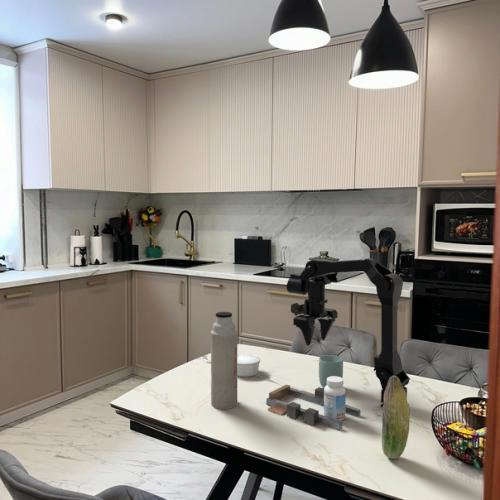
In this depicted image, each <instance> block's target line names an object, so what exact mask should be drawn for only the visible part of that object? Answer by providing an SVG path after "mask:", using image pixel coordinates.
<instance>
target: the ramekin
mask: <svg viewBox="0 0 500 500" xmlns="http://www.w3.org/2000/svg"><path fill="white" fill-rule="evenodd" d="M260 363H261V357H260V356H257V355H254V354H250V353H249V354H248V353H246V354H245V353H244V354H243V353H241V354H237V377H242V378H249V377H253V376H255V375H257V373H258V371H259V368H260Z"/></svg>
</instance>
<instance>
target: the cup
mask: <svg viewBox="0 0 500 500" xmlns="http://www.w3.org/2000/svg"><path fill="white" fill-rule="evenodd" d="M331 376H337V377H341V378H343V377H344V358H343V357H342V356H338V355H334V354H326V355H325V354H324V355H321V356H320V357H318V380H319V384H320V386H321V388H323V389H324V388H325V386H327V378H328V377H331ZM343 379H344V378H343Z"/></svg>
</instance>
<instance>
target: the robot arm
mask: <svg viewBox="0 0 500 500" xmlns="http://www.w3.org/2000/svg"><path fill="white" fill-rule="evenodd" d="M353 272H354V273H355V272H356V273H357V272H363V273H365V274H366V276H367V278H368V280H369V281H370V282H371V283H372V284H373V285H374V286H375V288H376V289H375V290H376V296H377V298H378V300H379V303H380V306H381V307H380V310H381V314H380V320H381V321H380V323H381V324H380V325H381V326H380V328H381V329H380V330H381V331H380V338H381V340H380V341H381V342H380V343H381V344H380V347H381V348H380V353H379V354H378V355H376V356H374V358H373V363H374V368H373V371H374V372H375V376H376V378H377V379H378V380H379V384H380V386H381V390H380V391H381V392H380V393H381V395H380V403H381V404H380V405H379V407H380V408H383V404H384V392H385V389H386V387H387V384H388V381H389V378H390V377H391V376H397V377H398V378H399V379H400V382H401V384H402V386H403V388H404V390H405V393H406V397H407V398H408V387H406V386H408V385H409V383H410V380H411V378H410V376H408V374H407V373H406V372H405V371H404V369H403V363H402V358H401V356H400V354H399V352H398V305H399V301H400V299H401V295H402V292H403V286H404V282H403V281H404V279H402V277H401V276H400V275H399V274H397V273H394V272H393V271H391V270H390V269H389V268H387V267H386V266H384V265H383V264H381V263H380V262H378V261H377V260H376V258H372V257H369V258H362V259H361V258H360V259H348V260H347V259H346V260H332V259H329V258H316V259H309V260H307V261H306V263H305V267H304V268H303V270H302V272H301V273H300V274H297V273H291V274H290V277H289V278H288V280H287V283H286V286H285V287H286V291H287V293H289V294H293V295H300V296H301V295H302V296H305V295H306V294H307V298H306V299H305V300H304V303H303V304H299V303H298V302H295V303H292V304H290V305H291V306H290V312H291V313H292V314H293V315H294V316H295V317H294V318H293V319H292V325H293V326H295V327H296V328H299V329H300V331H301V333H302V336H303V339H304V342H305V345H306V346H308V347H310V346H311V343H312V339H313V337H314V332H315V329H316V326H315V324H316V321H318V323H319V325H320V337H321V340H322V341H324V340H326V338H327V336H328V335H329V332H330V330H331V328H332V326H333V324H334V323H335V322H336V319H338V316H339V315H338V312H339V311H337V310H336V309H334V308H327V307H326V304H327V303H328V298H327V299H326V285H327V286H328V285H330V284H332V281H331V280H330V279H329V278H328V277H327V276H326V275H330V274H336V273H353ZM409 406H410V405H409V403H408V407H409Z"/></svg>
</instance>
